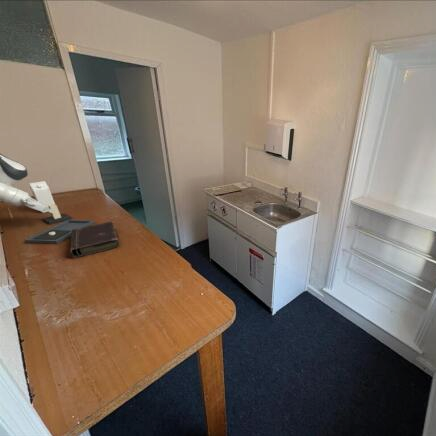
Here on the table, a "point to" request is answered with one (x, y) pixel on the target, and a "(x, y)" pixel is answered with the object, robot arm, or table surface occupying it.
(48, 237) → the pad
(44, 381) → the table surface
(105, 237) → the diary
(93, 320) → the table surface
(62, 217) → the loose pad
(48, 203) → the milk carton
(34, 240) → the grey shallow rectangular tray
